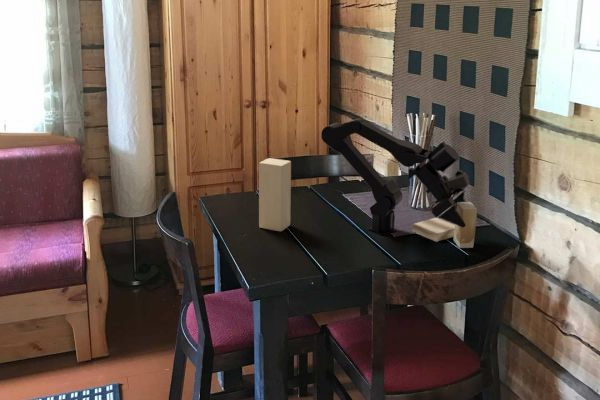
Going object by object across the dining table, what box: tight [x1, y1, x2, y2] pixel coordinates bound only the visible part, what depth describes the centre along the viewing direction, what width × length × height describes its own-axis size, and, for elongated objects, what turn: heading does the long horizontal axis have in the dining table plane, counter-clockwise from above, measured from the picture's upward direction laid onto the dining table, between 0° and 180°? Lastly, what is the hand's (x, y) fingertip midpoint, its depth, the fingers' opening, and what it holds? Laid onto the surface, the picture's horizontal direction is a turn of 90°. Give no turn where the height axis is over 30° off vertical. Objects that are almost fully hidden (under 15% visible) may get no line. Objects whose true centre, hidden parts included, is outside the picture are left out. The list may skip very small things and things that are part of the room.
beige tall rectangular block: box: [258, 157, 292, 232], centre depth 212 cm, size 8×7×21 cm
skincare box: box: [453, 201, 478, 249], centre depth 200 cm, size 6×4×12 cm
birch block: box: [412, 217, 455, 242], centre depth 210 cm, size 10×10×3 cm
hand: (467, 221), depth 199 cm, fingers open, 9 cm apart
